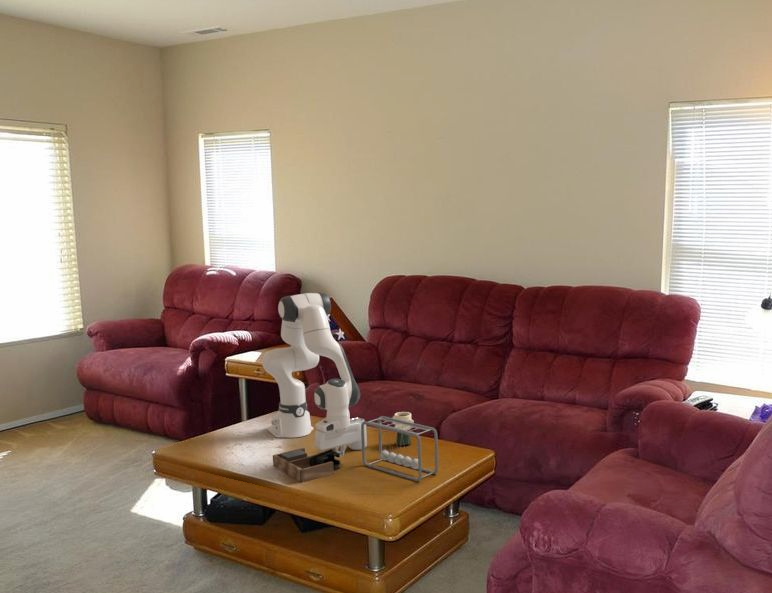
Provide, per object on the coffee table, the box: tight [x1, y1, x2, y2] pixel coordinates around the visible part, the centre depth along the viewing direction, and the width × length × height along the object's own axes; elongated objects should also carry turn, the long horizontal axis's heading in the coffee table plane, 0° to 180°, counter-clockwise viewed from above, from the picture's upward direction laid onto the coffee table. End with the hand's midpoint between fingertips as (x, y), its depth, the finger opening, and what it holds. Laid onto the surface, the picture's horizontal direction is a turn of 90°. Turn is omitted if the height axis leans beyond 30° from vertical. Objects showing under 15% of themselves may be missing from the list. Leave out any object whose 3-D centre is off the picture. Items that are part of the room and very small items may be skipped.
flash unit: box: [281, 449, 308, 461], centre depth 290 cm, size 6×8×6 cm
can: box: [348, 417, 368, 451], centre depth 310 cm, size 8×8×12 cm
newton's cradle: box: [361, 415, 439, 482], centre depth 282 cm, size 30×10×18 cm, turn 46°
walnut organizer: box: [272, 447, 335, 483], centre depth 286 cm, size 23×14×4 cm, turn 36°
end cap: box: [309, 448, 341, 471], centre depth 285 cm, size 10×7×7 cm
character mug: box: [392, 411, 415, 446], centre depth 312 cm, size 11×7×13 cm, turn 51°
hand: (340, 456), depth 289 cm, fingers closed
